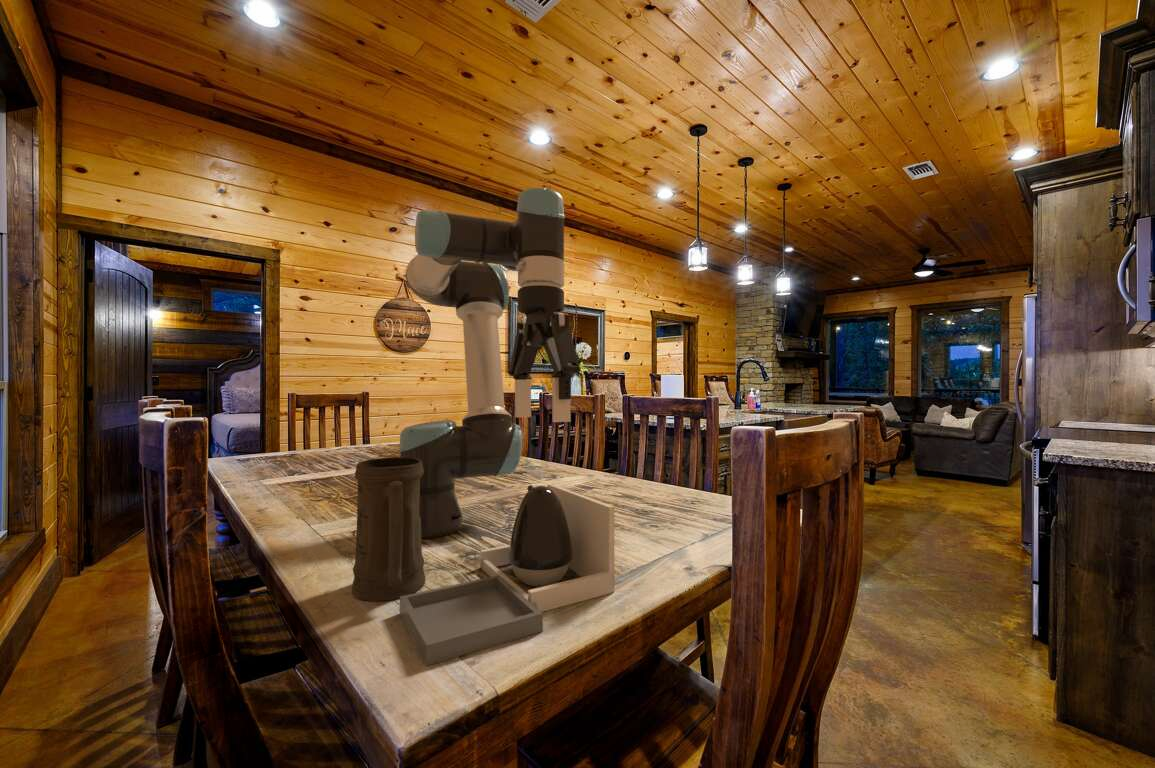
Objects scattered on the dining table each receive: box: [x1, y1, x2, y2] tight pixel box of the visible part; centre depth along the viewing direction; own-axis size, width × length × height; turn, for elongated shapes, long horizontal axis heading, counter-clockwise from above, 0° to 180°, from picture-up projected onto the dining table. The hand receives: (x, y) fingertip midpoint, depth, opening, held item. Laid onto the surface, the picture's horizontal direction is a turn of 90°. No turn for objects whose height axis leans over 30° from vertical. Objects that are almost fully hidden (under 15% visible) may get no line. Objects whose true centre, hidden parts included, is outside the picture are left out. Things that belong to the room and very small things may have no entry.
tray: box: [399, 575, 544, 667], centre depth 64 cm, size 15×15×2 cm
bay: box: [479, 483, 615, 613], centre depth 78 cm, size 20×14×13 cm
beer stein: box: [351, 456, 427, 602], centre depth 73 cm, size 15×11×20 cm
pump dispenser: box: [509, 485, 572, 588], centre depth 78 cm, size 10×10×15 cm
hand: (540, 419), depth 78 cm, fingers open, 13 cm apart
